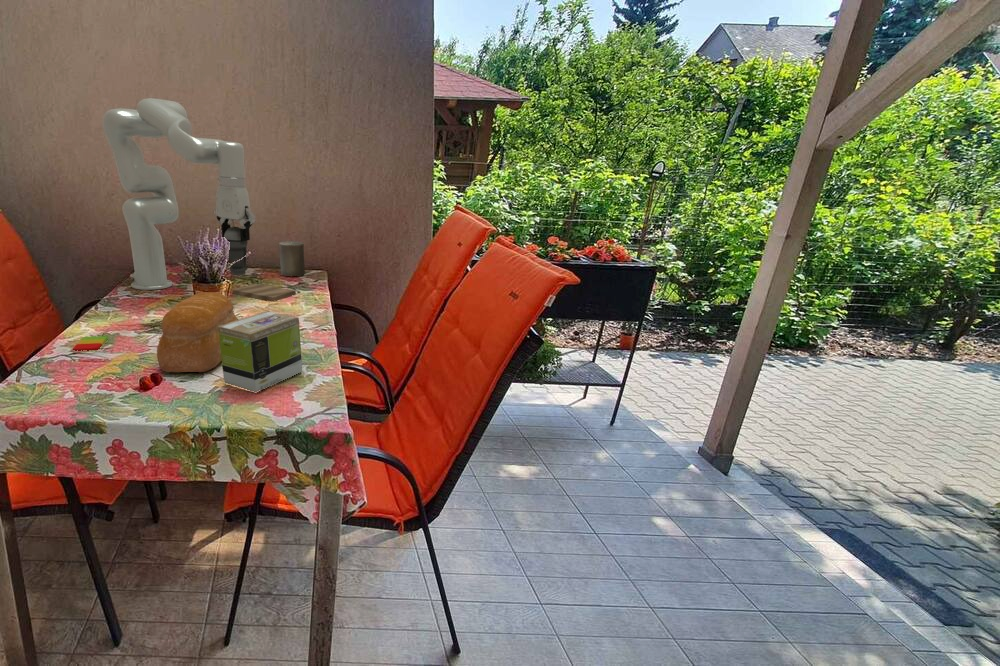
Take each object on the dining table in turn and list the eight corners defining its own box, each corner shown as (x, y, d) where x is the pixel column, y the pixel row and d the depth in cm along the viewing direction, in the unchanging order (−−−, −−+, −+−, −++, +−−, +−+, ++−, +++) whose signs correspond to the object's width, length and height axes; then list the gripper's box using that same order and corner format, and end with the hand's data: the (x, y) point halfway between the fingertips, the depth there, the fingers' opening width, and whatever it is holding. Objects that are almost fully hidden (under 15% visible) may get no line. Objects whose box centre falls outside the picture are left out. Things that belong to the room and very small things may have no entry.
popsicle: (71, 356, 131) (70, 349, 131) (90, 336, 144) (89, 329, 144) (98, 354, 133) (97, 347, 133) (114, 335, 146) (113, 328, 146)
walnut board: (232, 293, 192) (232, 289, 192) (257, 287, 203) (256, 283, 203) (272, 301, 187) (272, 297, 187) (295, 294, 198) (295, 290, 198)
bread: (246, 339, 151) (242, 287, 146) (213, 375, 126) (208, 315, 122) (195, 338, 149) (189, 285, 144) (152, 375, 124) (143, 313, 119)
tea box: (272, 364, 135) (268, 309, 130) (303, 373, 132) (301, 316, 127) (222, 385, 122) (216, 324, 117) (255, 395, 118) (251, 332, 114)
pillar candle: (309, 276, 227) (307, 241, 223) (287, 278, 220) (285, 242, 216) (298, 271, 234) (296, 237, 229) (276, 273, 227) (274, 238, 222)
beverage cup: (238, 277, 173) (234, 215, 167) (220, 273, 175) (216, 212, 169) (254, 273, 180) (251, 213, 173) (237, 270, 182) (233, 211, 175)
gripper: (201, 179, 167) (205, 236, 173) (245, 186, 162) (248, 244, 168) (220, 179, 174) (224, 233, 180) (263, 185, 169) (265, 241, 175)
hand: (235, 238), depth 174 cm, fingers closed on beverage cup, 7 cm apart
